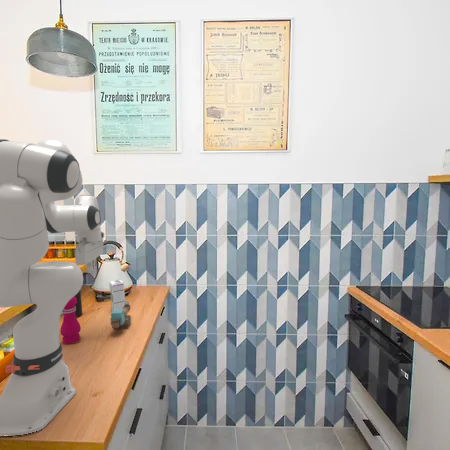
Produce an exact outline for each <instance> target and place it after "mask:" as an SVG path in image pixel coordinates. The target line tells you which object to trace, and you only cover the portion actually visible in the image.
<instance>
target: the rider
mask: <svg viewBox="0 0 450 450" xmlns="http://www.w3.org/2000/svg"><path fill="white" fill-rule="evenodd" d="M112 320H120V325H123V323H124V321H125V314H124V309H118V310H113V311H112V310H111V312H110V326H112Z"/></svg>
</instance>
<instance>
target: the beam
mask: <svg viewBox="0 0 450 450" xmlns="http://www.w3.org/2000/svg"><path fill="white" fill-rule="evenodd" d="M122 309H124V314H125V321H124V323H123V325H120V320H112V325H111V328H112V329H113V330H129V328H130V326H131V324H132V317H131V314H128V313H129V312H130V310H131V304H130V302H129V300H125V302H124V307H123V308H122Z"/></svg>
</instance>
